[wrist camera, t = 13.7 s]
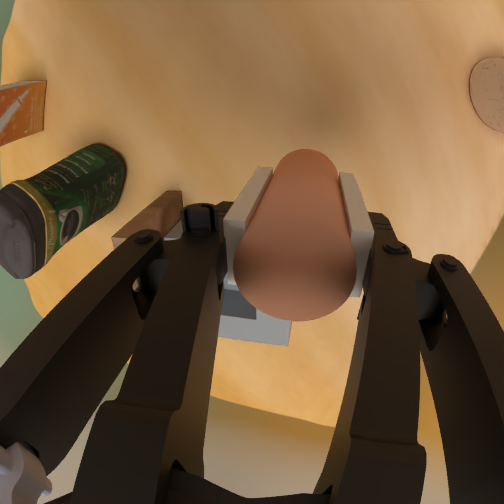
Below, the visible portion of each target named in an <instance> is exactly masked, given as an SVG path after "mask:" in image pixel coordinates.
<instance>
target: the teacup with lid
mask: <svg viewBox="0 0 504 504" xmlns="http://www.w3.org/2000/svg"><path fill="white" fill-rule="evenodd" d="M470 95H471V100H472V103H473V106H474V108H475V110H476V112H477V114H478V115H479V117H480V118H481V119H482V121H483V122H484V123H485V124H486V125H488V126H489V127H491V128H492V129H494V130H497V131H499V132H502V133H504V57H498V58H486V59H483V60H481V61H480V62H478V63H477V64H476V66H475V67H474V69H473V71H472V73H471V77H470Z"/></svg>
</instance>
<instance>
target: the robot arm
mask: <svg viewBox="0 0 504 504" xmlns="http://www.w3.org/2000/svg"><path fill="white" fill-rule="evenodd" d="M271 178H272V167H258V168H257V169H256V171H255V172H254V174H253V175H252V177H251V178H250V180H249V181H248V183H247V184H246V186H245V187H244V189H243V190H242V191H241V193H240V194H239V196H238V197H237V199H236V200H235V202H227V201H223V202H221V203H219V204H217V205H213V204H209V203H197V204H192V205H188V206H186V207H184V208H183V209H182V210H181V211H180V214H181V222H182V229H183V233H182V235H181V237H180V239H175V240H165V241H162V236H161V233H160V232H159V231H157V230H153V229H144V230H140V231H138V232H136V233H134V234H132V235H131V236H129V237H128V238H127V239H126V240H125V241H124V242H122V243H121V244H120V245H119V246H118V247H117V248H116V249H115V250H113V251H112V252H111V253H110V254H109V255H108V256H107V257H106V258H105V259H104V260H102V261H101V262H100V263H99V264H98V265H97V266H96V267H95V268H94V269H93V270H92V271H91V272H90V273H89V274H88V275H86V276H85V277H84V278H83V279H82V280H81V281H80V282H79V283H78V284H77V285H76V286H75V287H74V288H73V289H72V290H71V291H70V292H69V293H68V294H67V295H66V296H65V297H64V298H63V299H62V300H61V301H60V302H59V303H58V304H57V305H56V306H55V307H54V308H53V309H52V310H51V311H50V312H49V314H48V315H47V316H46V317H45V318H44V319H43V320H42V321H41V322H40V323H39V324H38V325H37V326H36V328H35V329H34V330H33V331H32V332H31V333H30V334H29V335H28V336H27V337H26V339H25V340H24V341H23V342H22V343H21V344H20V345H19V347H18V348H17V349H16V350H15V351H14V352H13V353H12V355H11V356H10V357H9V358H8V359H7V361H6V362H5V363H4V364H3V365H2V367H1V368H0V504H37V500H38V498H39V497H40V495H42V496H48V495H49V494H50V493H51V491H52V484H51V482H50V480H49V479H48V478H47V477H46V476H47V475H48V474H50V473H51V472H52V471H53V470H54V469H55V468H56V467H57V466H58V465H59V464H60V463H61V461H62V460H63V459H64V458H65V457H66V455H67V454H68V452H69V451H70V449H71V448H72V446H73V445H74V443H75V441H76V440H77V438H78V436H79V435H80V433H81V432H82V430H83V429H84V427H85V426H86V424H87V422H88V421H89V419H90V418H91V416H92V414H93V413H94V411H95V410H96V408H97V406H98V405H99V404H100V402H101V400H102V399H103V397H104V396H105V394H106V393H107V391H108V390H109V388H110V387H111V385H112V384H113V382H114V381H115V379H116V378H117V376H118V375H119V373H120V371H121V370H122V368H123V367H124V366H125V364H126V363H127V361H128V360H129V358H130V357H131V355H132V354H133V355H132V357H131V360H130V363H129V366H128V368H127V371H126V374H125V377H124V380H123V383H122V386H121V389H120V392H119V394H118V396H117V398H116V399H115V400H112V401H111V400H110V401H105V402H104V403H102V404H101V405H100V407H99V409H98V411H97V413H96V416H95V418H94V422H93V424H92V428H91V431H90V434H89V437H88V440H87V443H86V447H85V450H84V453H83V456H82V460H81V463H80V467H79V470H78V474H77V477H76V481H75V485H74V489H73V492H71V493H68V494H66V495H64V496H61V497H59V498H57V499H54V500H52V501H49V502H47V503H44V504H420V501H421V496H422V491H423V484H424V478H425V471H426V451H425V448H424V447H423V446H421V445H420V444H418V442H417V430H418V417H419V400H420V352H421V355H422V358H423V362H424V365H425V369H426V373H427V376H428V380H429V384H430V388H431V392H432V396H433V400H434V404H435V409H436V413H437V418H438V422H439V428H440V433H441V438H442V444H443V449H444V455H445V462H446V468H447V476H448V486H449V496H450V504H504V331H503V330H502V328H501V326H500V324H499V322H498V320H497V318H496V317H495V315H494V313H493V312H492V310H491V308H490V306H489V304H488V303H487V301H486V300H485V298H484V296H483V295H482V293H481V291H480V290H479V288H478V287H477V285H476V283H475V282H474V280H473V279H472V277H471V276H470V274H469V273H468V271H467V270H466V268H465V267H464V265H463V264H462V263H461V262H460V261H459V260H457V259H456V258H455V257H453V256H451V255H444V254H437V255H435V256H433V258H432V261H431V264H429V263H425V262H422V261H419V260H416V259H414V258H412V254H411V250H410V248H409V247H408V246H406V245H405V244H403V243H402V242H400V241H398V240H397V237H396V235H395V233H394V231H393V228H392V226H391V224H390V221H389V219H388V218H387V217H385V216H384V215H383V214H382V213H374V212H367V209H366V206H365V203H364V200H363V198H362V195H361V192H360V189H359V187H358V184H357V181H356V179H355V176H354V174H350V173H340V172H339V185H340V189H341V194H342V198H343V203H344V208H345V213H346V218H347V223H348V229H349V234H350V240H351V243H352V246H353V250H354V256H355V261H356V268H357V276H356V282H355V285H354V288H353V290H352V292H351V294H350V296H351V297H360V295H361V291H362V287H363V290H364V295H363V299H362V302H361V306H360V310H359V313H358V317H357V319H358V320H359V321H358V327H357V333H356V338H355V344H354V349H353V355H352V360H351V365H350V370H349V374H348V379H347V383H346V388H345V392H344V396H343V401H342V405H341V409H340V413H339V417H338V420H337V424H336V428H335V431H334V435H333V438H332V442H331V445H330V449H329V452H328V455H327V459H326V462H325V465H324V468H323V471H322V473H321V476H320V478H319V480H318V482H317V484H316V487H315V489H314V492H313V494H307V493H301V494H294V495H286V496H276V497H265V498H245V497H242V496H239V495H237V494H235V493H232V492H230V491H228V490H226V489H224V488H222V487H220V486H218V485H216V484H213V483H211V482H209V481H207V480H206V479H204V463H203V447H204V438H205V430H206V422H207V414H208V405H209V397H210V390H211V383H212V375H213V368H214V360H215V353H216V345H217V338H218V331H219V324H220V317H221V310H222V303H223V296H224V281H223V280H224V278H225V276H226V274H227V280H228V284H232V285H237V284H236V282H235V279H234V275H233V259H234V255H235V252H236V249H237V247H238V245H239V243H240V241H241V239H242V237H243V235H244V233H245V231H246V229H247V227H248V225H249V223H250V221H251V219H252V217H253V215H254V213H255V210H256V208H257V206H258V204H259V202H260V200H261V198H262V196H263V194H264V192H265V190H266V188H267V186H268V184H269V182H270V180H271ZM135 280H137V283H138V287H137V288H136V289H135V290H134V289H133V284H134V282H135ZM446 315H447V318H448V319H447V318H446Z"/></svg>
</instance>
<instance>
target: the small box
mask: <svg viewBox="0 0 504 504" xmlns="http://www.w3.org/2000/svg"><path fill="white" fill-rule="evenodd" d="M46 84H47V81H20V82H15V83H10V84H5V85H1V86H0V146H2V145H5V144H7V143H10V142H13V141H15V140H18V139H21V138H23V137H26V136H29V135H31V134H34V133H37V132H40V131H42V130H43V112H44V100H45V90H46Z"/></svg>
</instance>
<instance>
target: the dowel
mask: <svg viewBox="0 0 504 504" xmlns="http://www.w3.org/2000/svg"><path fill="white" fill-rule="evenodd" d="M233 275H234V279H235V282H236V284H237V287H238V289H239V290H240V292H241V294H242V295H243V296H244V297H245V299H246V300H247V301H248V302H249V303H250V304H251V305H253V306H254V307H255V308H257V309H258V310H260V311H261V312H263V313H265V314H267V315H269V316H272V317H275V318H278V319H282V320H288V321H308V320H314V319H318V318H321V317H323V316H326V315H328V314H330V313H332V312H333V311H335V310H336V309H338V308H339V307H340V306H341V305H342V304H343V303H344V302H345V301H346V300H347V299H348V297H349V296H350V294H351V292H352V290H353V288H354V285H355V282H356V276H357V268H356V261H355V256H354V250H353V246H352V243H351V240H350V234H349V229H348V223H347V218H346V213H345V208H344V203H343V198H342V194H341V189H340V185H339V177H338V173H337V170H336V168H335V166H334V164H333V163H332V162H331V160H330V159H329V158H328V157H326V156H325V155H324V154H322V153H320V152H318V151H315V150H310V149H301V150H296V151H293V152H291V153H289V154H287V155H286V156H285V157H283V158H282V159H281V161H280V162H279V163H278V165H277V167H276V169H275V171H274V173H273V175H272V178H271V180H270V182H269V184H268V186H267V188H266V190H265V192H264V194H263V196H262V198H261V200H260V202H259V204H258V206H257V208H256V210H255V213H254V215H253V217H252V219H251V221H250V223H249V225H248V227H247V229H246V231H245V233H244V235H243V237H242V239H241V241H240V243H239V245H238V247H237V249H236V252H235V255H234V259H233Z"/></svg>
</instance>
